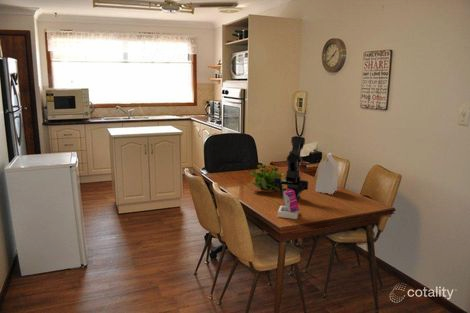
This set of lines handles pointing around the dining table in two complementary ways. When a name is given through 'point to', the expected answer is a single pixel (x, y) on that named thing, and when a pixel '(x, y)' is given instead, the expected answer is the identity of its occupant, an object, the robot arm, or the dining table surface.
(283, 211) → the collar
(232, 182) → the dining table surface
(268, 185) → the potted flower
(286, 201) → the supplement box
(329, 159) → the milk
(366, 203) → the dining table surface
